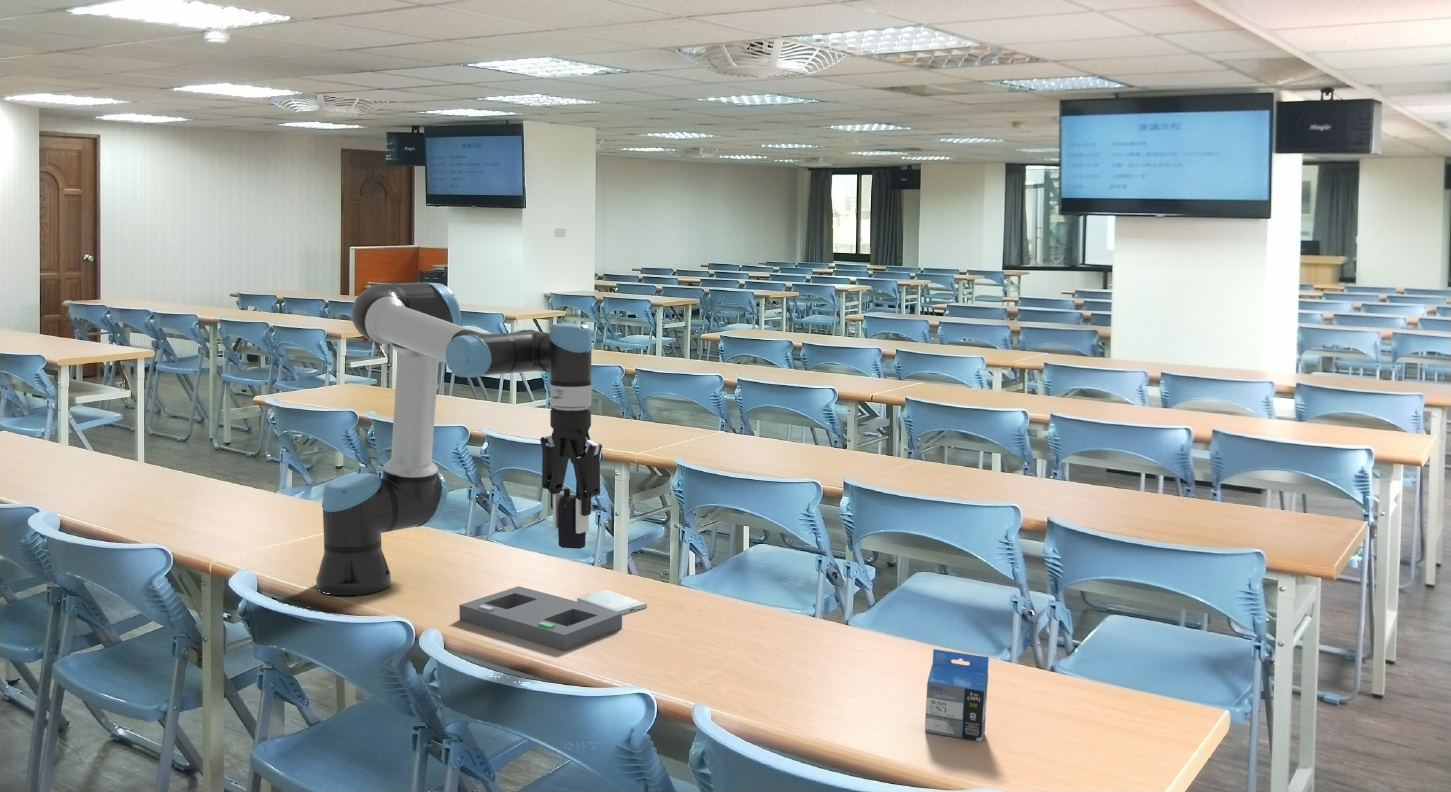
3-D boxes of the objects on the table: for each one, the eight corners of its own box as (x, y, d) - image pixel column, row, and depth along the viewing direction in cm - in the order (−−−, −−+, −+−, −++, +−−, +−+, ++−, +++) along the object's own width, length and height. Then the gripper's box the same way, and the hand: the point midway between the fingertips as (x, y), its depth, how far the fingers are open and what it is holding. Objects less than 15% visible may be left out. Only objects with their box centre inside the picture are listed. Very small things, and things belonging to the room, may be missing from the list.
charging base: (459, 619, 235) (459, 602, 234) (518, 600, 247) (518, 584, 247) (564, 650, 218) (564, 632, 218) (622, 628, 231) (622, 611, 231)
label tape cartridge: (923, 733, 186) (926, 656, 184) (928, 723, 189) (932, 648, 187) (981, 742, 182) (985, 665, 181) (985, 733, 186) (989, 656, 184)
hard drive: (576, 597, 247) (617, 610, 238) (607, 589, 253) (647, 602, 244) (576, 605, 247) (617, 619, 239) (607, 596, 253) (647, 610, 245)
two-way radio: (588, 545, 228) (589, 468, 225) (583, 552, 223) (584, 474, 221) (559, 544, 228) (560, 467, 226) (554, 550, 224) (554, 472, 222)
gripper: (521, 404, 225) (521, 525, 228) (593, 414, 214) (593, 541, 217) (549, 400, 231) (549, 518, 234) (621, 410, 220) (620, 533, 223)
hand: (570, 529), depth 225 cm, fingers closed on two-way radio, 5 cm apart
